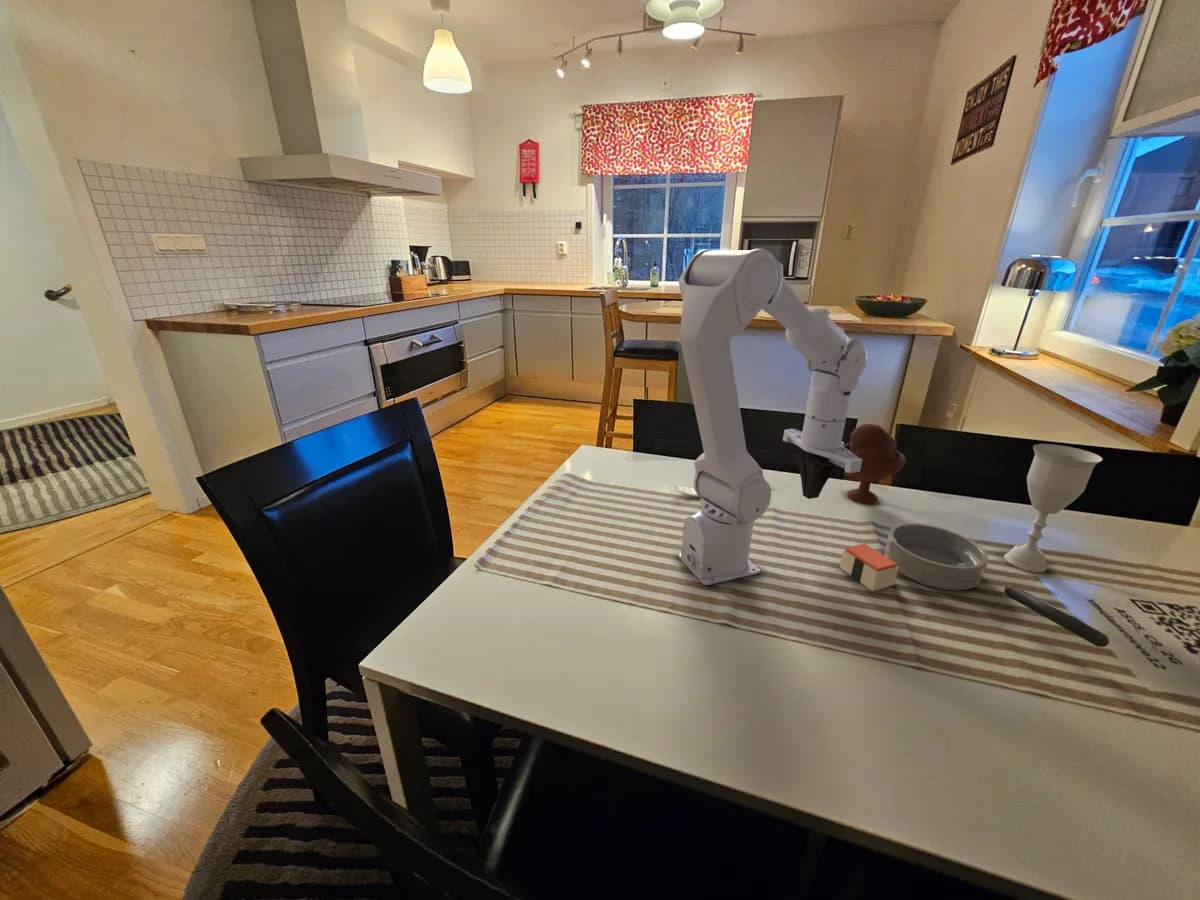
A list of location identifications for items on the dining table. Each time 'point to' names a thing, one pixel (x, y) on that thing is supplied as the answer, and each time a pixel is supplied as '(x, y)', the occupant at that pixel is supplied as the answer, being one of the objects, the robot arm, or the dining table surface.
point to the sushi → (869, 567)
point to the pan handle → (1057, 616)
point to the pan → (936, 556)
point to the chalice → (1051, 494)
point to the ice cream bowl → (873, 459)
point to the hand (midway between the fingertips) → (810, 496)
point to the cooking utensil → (686, 490)
